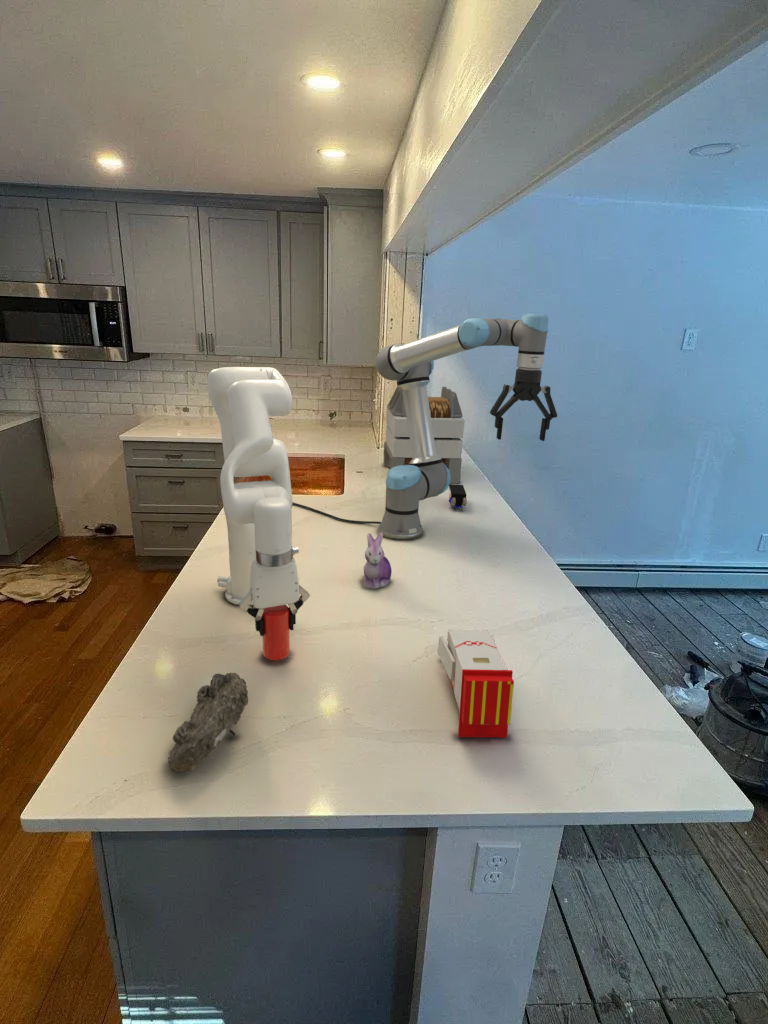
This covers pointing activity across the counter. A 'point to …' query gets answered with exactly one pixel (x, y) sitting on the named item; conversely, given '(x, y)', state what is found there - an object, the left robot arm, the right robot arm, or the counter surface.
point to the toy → (478, 682)
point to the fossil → (209, 721)
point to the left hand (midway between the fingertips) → (275, 629)
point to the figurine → (376, 564)
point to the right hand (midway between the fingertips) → (520, 439)
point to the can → (276, 632)
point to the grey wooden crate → (444, 430)
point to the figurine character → (457, 496)
